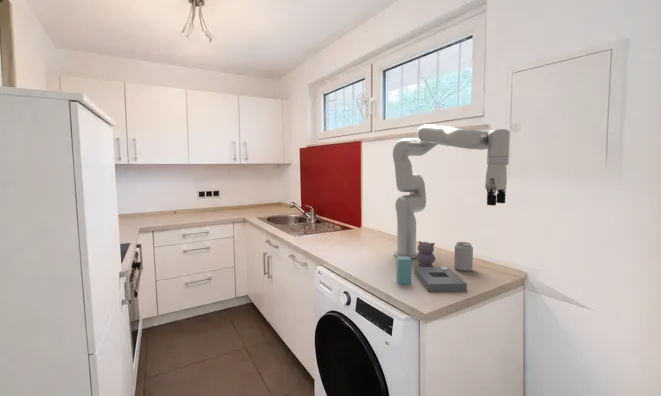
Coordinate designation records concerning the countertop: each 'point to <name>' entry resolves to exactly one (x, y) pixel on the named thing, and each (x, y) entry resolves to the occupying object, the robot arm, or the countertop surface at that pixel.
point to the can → (463, 256)
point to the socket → (440, 279)
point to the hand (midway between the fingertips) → (496, 204)
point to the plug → (403, 270)
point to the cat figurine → (425, 254)
